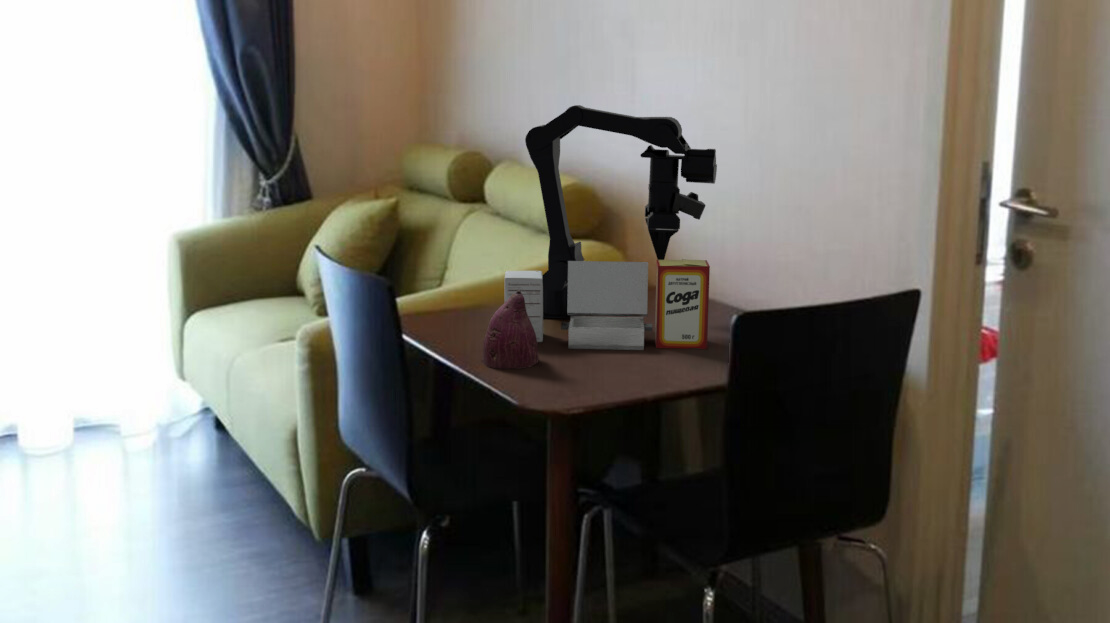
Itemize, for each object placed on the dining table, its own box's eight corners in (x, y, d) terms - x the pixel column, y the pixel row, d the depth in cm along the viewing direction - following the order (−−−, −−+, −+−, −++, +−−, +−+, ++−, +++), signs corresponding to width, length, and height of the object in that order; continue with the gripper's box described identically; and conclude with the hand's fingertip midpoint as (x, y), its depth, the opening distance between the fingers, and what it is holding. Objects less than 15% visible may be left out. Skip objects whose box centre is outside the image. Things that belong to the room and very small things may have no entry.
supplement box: (505, 333, 236) (505, 270, 233) (543, 333, 236) (543, 270, 233) (504, 342, 229) (503, 277, 226) (543, 342, 229) (543, 277, 226)
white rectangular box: (559, 348, 224) (560, 327, 223) (562, 336, 234) (562, 316, 233) (652, 350, 223) (652, 329, 222) (651, 337, 233) (651, 317, 232)
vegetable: (545, 381, 214) (566, 304, 209) (495, 381, 209) (515, 303, 203) (517, 354, 222) (537, 280, 217) (468, 354, 217) (487, 278, 211)
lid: (568, 260, 232) (568, 260, 234) (567, 315, 232) (567, 314, 234) (648, 262, 231) (647, 262, 233) (647, 316, 231) (646, 316, 234)
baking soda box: (656, 348, 225) (658, 263, 222) (654, 339, 231) (656, 257, 228) (707, 348, 225) (709, 264, 221) (704, 340, 231) (706, 258, 228)
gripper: (708, 187, 231) (703, 267, 235) (700, 177, 249) (695, 251, 253) (650, 185, 231) (646, 265, 235) (646, 175, 250) (642, 249, 253)
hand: (659, 257), depth 244 cm, fingers open, 9 cm apart
